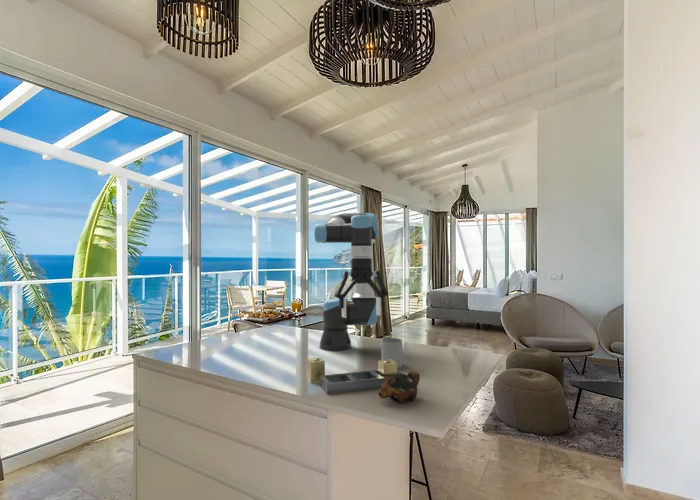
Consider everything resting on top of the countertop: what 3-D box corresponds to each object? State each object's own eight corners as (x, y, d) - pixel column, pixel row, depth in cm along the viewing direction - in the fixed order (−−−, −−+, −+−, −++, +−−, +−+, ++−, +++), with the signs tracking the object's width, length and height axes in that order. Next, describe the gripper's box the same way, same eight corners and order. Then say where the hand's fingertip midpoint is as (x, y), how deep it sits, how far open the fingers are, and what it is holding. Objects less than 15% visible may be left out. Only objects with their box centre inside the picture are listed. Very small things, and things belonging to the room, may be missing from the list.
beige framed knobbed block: (378, 380, 139) (378, 359, 139) (391, 379, 141) (391, 358, 141) (383, 384, 134) (383, 363, 135) (397, 383, 136) (397, 362, 136)
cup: (401, 368, 153) (401, 342, 153) (380, 367, 155) (380, 342, 155) (403, 362, 162) (402, 338, 162) (383, 361, 163) (382, 337, 163)
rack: (320, 384, 135) (320, 375, 135) (394, 376, 144) (394, 368, 144) (327, 393, 126) (327, 384, 126) (406, 384, 135) (406, 375, 135)
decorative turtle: (429, 398, 122) (428, 372, 121) (392, 413, 113) (391, 385, 113) (407, 388, 130) (406, 364, 129) (371, 401, 121) (370, 375, 120)
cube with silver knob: (307, 378, 142) (307, 358, 142) (321, 376, 144) (321, 356, 144) (310, 382, 137) (310, 361, 137) (324, 381, 139) (324, 360, 139)
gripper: (331, 258, 136) (332, 319, 136) (396, 257, 145) (397, 315, 145) (325, 257, 143) (325, 316, 143) (387, 257, 152) (388, 312, 152)
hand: (361, 316), depth 144 cm, fingers open, 13 cm apart
